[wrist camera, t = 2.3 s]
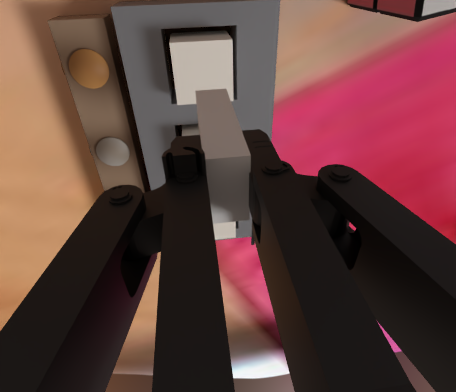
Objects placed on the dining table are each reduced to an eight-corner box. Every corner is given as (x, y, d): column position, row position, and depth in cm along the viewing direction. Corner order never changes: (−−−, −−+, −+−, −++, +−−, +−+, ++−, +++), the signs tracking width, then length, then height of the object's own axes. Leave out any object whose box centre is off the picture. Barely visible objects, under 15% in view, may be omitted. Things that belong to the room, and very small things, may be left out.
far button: (231, 214, 36) (235, 237, 33) (194, 217, 36) (195, 241, 33) (230, 183, 34) (235, 205, 30) (190, 187, 33) (191, 210, 30)
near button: (227, 85, 27) (233, 101, 24) (177, 88, 27) (177, 105, 24) (225, 30, 25) (232, 39, 21) (170, 33, 24) (169, 42, 21)
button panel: (258, 213, 39) (265, 235, 36) (164, 223, 38) (163, 246, 35) (267, -5, 25) (280, -1, 22) (119, 1, 24) (110, 6, 21)
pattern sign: (155, 219, 38) (154, 234, 36) (121, 222, 38) (117, 237, 35) (109, 14, 25) (102, 18, 23) (55, 16, 24) (43, 21, 22)
